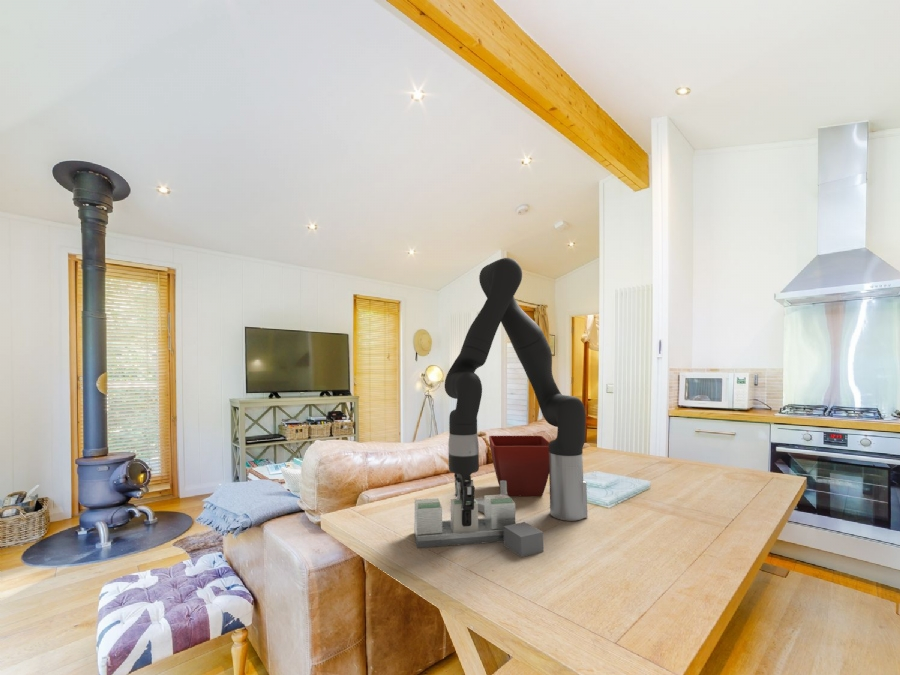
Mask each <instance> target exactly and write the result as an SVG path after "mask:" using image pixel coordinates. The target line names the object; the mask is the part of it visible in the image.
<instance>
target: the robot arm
mask: <svg viewBox="0 0 900 675" xmlns="http://www.w3.org/2000/svg"><path fill="white" fill-rule="evenodd" d="M522 270H523V269H522V267H521V266H520V264H519V262H517V260H515V259H514V258H510V257H503V258H500V259H497V260H495V261H492V262H491V263H489V264H486V265H485V266H483V267H482V268H481V269H480V272H479V275H478V277H479V278H478V280H479V285H480V287H481V290H482V291H483V293H484V295H485V297H486V300H485V302H484V304H483V306H482V307H481V309H480V311H479V313H478V314H477V316H476V317H475V319H473V321H472V323H471V325H470V327H469V329H468V330H467V333H466V335H465V339H464V341H463V344H462V346H461V349H460V352H459V354H458V356H456V357H457V358H455V360H454V362H453V363H452V364H451V367H450V368H449V369H448V372H447V374H446V376H445V380H444V390H445V393H446V395H447V396H448V397H450V398H452V399H456V405H455V409H453V410H452V411H450V412H449V416H448V417H449V418H448V421H449V422H448V423H449V424H448V426H449V427H448V428H449V430H448V432H449V433H448V434H449V435H448V446H447V448H448V471H449V472H450V473H453V474H454V476H453V477H454V490H455V494H454V496H455V499H459V500H460V501H461V509H462V525H463V526H464V527H465V526H471V510H474V499H475V489H476V488H475V485H474V479H472V474H475V473H477V472H479V470H480V468H479V467H480V466H479V465H480V462H479V460H480V459H479V458H480V455H479V454H480V453H479V437H478V414H479V410H480V405H481V402H482V401H481V400H482V396H483V395H482V394H483V384H482V381H481V379H480V377H479V375H477V373H475V372H476V370H478V369H479V368H480V367H483V366H484V365H485V363H486V361H487V359H488V356H489V355H490V351H491V348H492V344H493V342H494V340H495V336H496V333H497V331H498V329H499V327H500V324H501V325H502V327H503V329H504V331H505V333H506V335H507V337H508V339H509V340H510V344H511V346H512V348H513V350H514V352H515V354H516V357H517V359H518V361H520V364H521V366H522V368H523V370H524V372H525V374H526V376H527V378H528V381H529V383H530V385H531V387H532V390H533V392H534V395H535V397H536V401H537V403H538V405H539V406H538V407H539V408H540V411H541V415H542V417H543V418H544V420H545V421H546V422H547V424H549V425H550V426H553V427H555V428H557V431H556V432H557V434H556V438H554V439H552V440H550V441H549V476H548V479H549V509H550V511H549V512H550V516H551V517H553V518H554V519H557V520H561V521H568V522H571V521H573V522H575V521H580V520H583V519H586V518H588V491H587V488H588V487H587V482H586V481H585V480H584V461H583V460H584V458H583V457H584V456H583V455H584V454H583V448H584V446H585V443H586V423H587V422H586V421H587V420H586V409H585V405H584V402H582V400H581V399H580V398H579V397H577V396H572V395H564V394H562V393H561V391H560V389H559V388H558V385H557V383H556V381H555V379H554V376H553V357H552V356H553V354H552V349H551V346H550V344H549V342H548V340H547V338H546V336H545V334H544V332H543V330H542V328H541V326H540V325H538V324H537V322H536V321H534V320H533V319H532V318H531V316H529V315H528V314H527V313H526V312H525V311H524V310H523V309H522V307H521V306H520V305H519V304H518V302H517V300H516V298H515V295H516V293H517V291H518V289H519V287H520V285H521V283H522V278H523V271H522ZM467 501H469V505H466V502H467Z"/></svg>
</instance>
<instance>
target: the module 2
mask: <svg viewBox="0 0 900 675" xmlns="http://www.w3.org/2000/svg"><path fill="white" fill-rule="evenodd" d="M504 545H505V546H504ZM503 546H504V547H506V548H507V547H508V548H507V549H509V550H510V551H512V552H513V553H514V554H516V555H517V556H519V557H520V558H525V557H527V556H528V557H529V556H533V555H536V554H540V553H543V552H544V531H542V530H540V529H539V528H536V527H535V526H533V525H531V524H530V523H527V522H525V521H523V522H518V523H515V524H512V525H507V526H504V541H503Z"/></svg>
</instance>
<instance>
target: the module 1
mask: <svg viewBox="0 0 900 675" xmlns="http://www.w3.org/2000/svg"><path fill="white" fill-rule="evenodd" d="M475 499H476V498H474V510H471V526H465V527H464V526H463V525H462V509H461V501H460V500H459V499H456V498H451V499H450V520H451V529H452V532H453V533H464V532H477V531H478V518H479V511H478V503H477V501H476V500H475ZM466 505H469V501H467V502H466Z"/></svg>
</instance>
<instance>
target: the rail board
mask: <svg viewBox="0 0 900 675" xmlns="http://www.w3.org/2000/svg"><path fill="white" fill-rule="evenodd" d="M483 498H484V511H485V513H484V517H478V531H477V532H464V533H453V532H452V529H451V519H449V520H447V519H446V520H443V506H442V504H441V502H440V499H439V497H437V498H422V499H414V524H413V525H414V528H413V529H414V538H415V544H416V548H417V549H422V548H424V549H425V548H436V547H435V546H438V547H447V546H446V545H450V546H459V545H458V544H463V545H471V544H470V543H476V544H483V543H482V542H489V543H498V542H497V541H501V542H504V526H507V525H512V524H516V502H515V501H514V499H513V498H512V497H509V496H508V495H507V494H501V495H500V494H488V495H487V494H486V495H483Z"/></svg>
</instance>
